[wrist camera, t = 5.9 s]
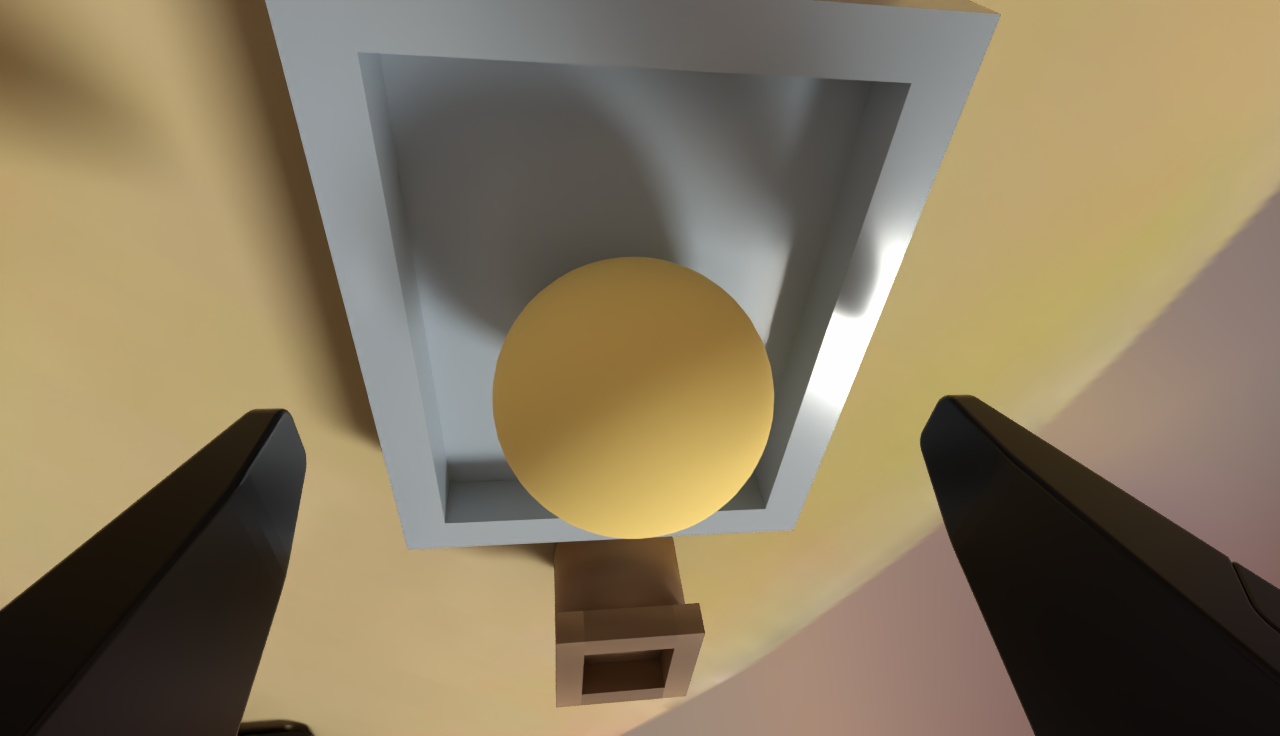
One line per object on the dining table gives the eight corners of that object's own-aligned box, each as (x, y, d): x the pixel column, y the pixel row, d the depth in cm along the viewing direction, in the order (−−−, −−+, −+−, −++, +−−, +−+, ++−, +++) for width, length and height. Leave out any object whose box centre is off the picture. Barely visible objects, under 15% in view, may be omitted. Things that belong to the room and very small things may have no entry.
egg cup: (666, 580, 18) (685, 696, 16) (554, 587, 18) (556, 707, 16) (680, 512, 16) (704, 633, 14) (553, 517, 16) (556, 644, 13)
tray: (768, 459, 15) (793, 529, 14) (422, 471, 14) (407, 549, 13) (923, -20, 9) (1000, 14, 7) (309, -70, 8) (254, -42, 6)
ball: (716, 399, 12) (774, 587, 9) (505, 404, 12) (494, 605, 9) (758, 209, 10) (855, 383, 7) (491, 202, 9) (468, 390, 6)
